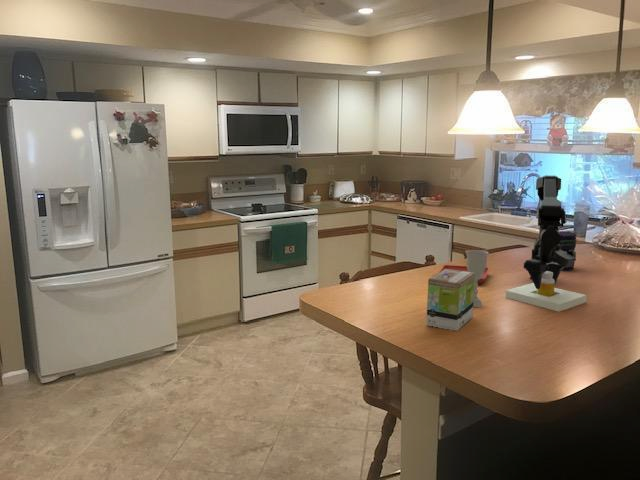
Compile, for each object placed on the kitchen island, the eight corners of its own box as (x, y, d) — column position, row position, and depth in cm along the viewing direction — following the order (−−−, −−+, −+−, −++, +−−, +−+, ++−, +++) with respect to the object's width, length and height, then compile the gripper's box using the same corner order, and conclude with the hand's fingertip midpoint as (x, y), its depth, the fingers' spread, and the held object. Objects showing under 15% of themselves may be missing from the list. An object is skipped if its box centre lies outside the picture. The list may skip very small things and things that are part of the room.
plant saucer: (436, 282, 209) (436, 274, 208) (443, 272, 225) (443, 264, 224) (485, 287, 202) (485, 278, 201) (488, 275, 219) (489, 267, 218)
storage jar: (575, 267, 228) (578, 232, 225) (572, 272, 220) (575, 236, 217) (550, 264, 233) (552, 230, 230) (546, 269, 225) (548, 234, 222)
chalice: (486, 302, 182) (489, 250, 178) (485, 308, 176) (488, 254, 172) (464, 301, 184) (466, 249, 181) (462, 306, 178) (464, 253, 174)
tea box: (458, 332, 155) (460, 282, 153) (425, 326, 161) (426, 278, 158) (473, 317, 168) (475, 271, 165) (442, 312, 173) (443, 267, 170)
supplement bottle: (555, 302, 181) (557, 274, 179) (538, 301, 182) (539, 273, 180) (551, 297, 186) (553, 270, 184) (535, 297, 187) (536, 270, 185)
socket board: (505, 297, 188) (505, 290, 187) (532, 289, 197) (532, 282, 196) (559, 311, 172) (559, 304, 171) (585, 302, 181) (586, 295, 180)
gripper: (555, 249, 168) (551, 297, 171) (587, 241, 179) (583, 287, 182) (523, 243, 177) (521, 289, 180) (555, 236, 188) (553, 280, 191)
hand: (545, 286), depth 183 cm, fingers open, 9 cm apart
